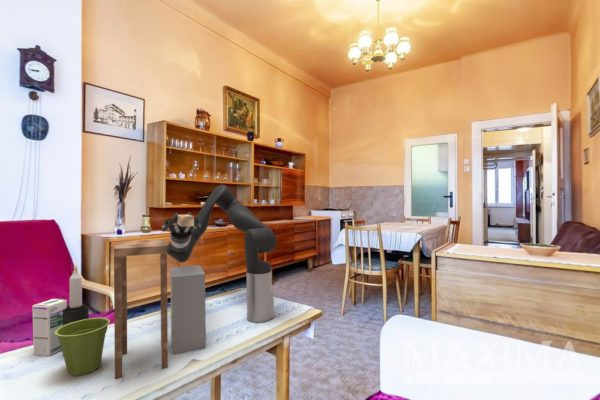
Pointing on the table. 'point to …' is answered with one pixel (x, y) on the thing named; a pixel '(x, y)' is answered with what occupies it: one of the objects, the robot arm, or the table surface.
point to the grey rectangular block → (187, 309)
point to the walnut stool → (121, 295)
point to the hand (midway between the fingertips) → (183, 215)
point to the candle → (75, 301)
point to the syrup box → (47, 326)
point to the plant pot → (83, 344)
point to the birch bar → (185, 220)
